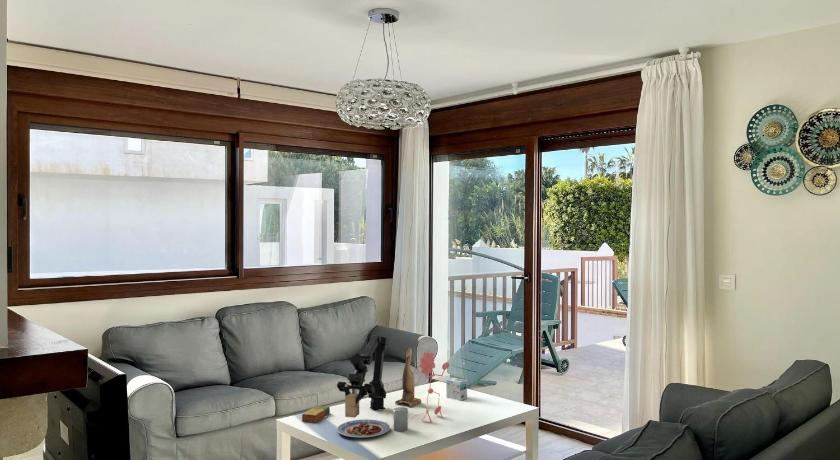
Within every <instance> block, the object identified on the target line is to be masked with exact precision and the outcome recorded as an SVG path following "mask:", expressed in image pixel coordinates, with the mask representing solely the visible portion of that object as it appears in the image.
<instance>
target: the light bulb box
mask: <svg viewBox="0 0 840 460" xmlns="http://www.w3.org/2000/svg"><path fill="white" fill-rule="evenodd" d="M445 383H446V385H445V386H446V395H445V396H446V398H447V399H451V400H456V401H460V402H461V401H463V400H467V399H468V380H467V379H461V378H457V377H450V378H447V379H446V381H445Z"/></svg>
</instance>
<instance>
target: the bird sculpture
mask: <svg viewBox="0 0 840 460" xmlns="http://www.w3.org/2000/svg"><path fill="white" fill-rule="evenodd" d="M412 354H413V350H412V348H411V347H408V348H407V351H406V352H405V357H404V358H405V359H406V360H405V364H404V367H403V373H402V383H401V384H402V385H401V386H402V396H401V398H399V399H397V400H395V402H394V403H395V404H396V405H397V404H399V403H405V404H408V405H409V406H410V408H413V407H415V406H418V405H420V404H422V400H421V398H417V397H415V374H414V373H413V372H414V371H412V369H411V364H412V363H411V362H412ZM412 373H413V374H412ZM411 374H412V375H411Z"/></svg>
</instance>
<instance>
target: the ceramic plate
mask: <svg viewBox="0 0 840 460" xmlns="http://www.w3.org/2000/svg"><path fill="white" fill-rule="evenodd" d="M390 429H391V426H390V424H388V423H387V422H385V421H382V420H378V419H366V418H365V419H363V418H362V419H355V420H350V421H345V422H344V423H341V424H339V425H338V426H337V428H336V431H337V433H339V434H340V435H342V436H345V437H351V438H359V439H360V438H361V439H362V438H371V437H372V438H373V437H376V436H381V435H383V434H385V433H387V432H388V431H390Z"/></svg>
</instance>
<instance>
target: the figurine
mask: <svg viewBox="0 0 840 460" xmlns="http://www.w3.org/2000/svg"><path fill="white" fill-rule="evenodd" d="M419 361H420V364H419V365H418V366H417V367H416V368H415V369H414V370H413V371H412V372H413V373H412V374H414V373H415V372H416V371H417V370H418V369H419V368H421V369H420V373H421V374H424V376H425V378H426V379H429V387H428V389H427V397H426V405H428V401H429V394H430V395H431V394H433V393H435V394H437V395H438V396H440V395H441V394H440V393H439V392H436V391H434V389H433V388H431V386H432V385H431V383H432V379H433V378H434V377H435V376H436V377H437V376H438V377H443V376H444V372H445V370H448V369H449V367H450V363H449V362H448V361H446V362H444V363H443V364H442V366H441V368H442V370H443V371H442V373H441V374H436V373H434V370H433V369H436V364H435V358H434V352H430V351H429V350H428V351H426V352H423V354H422V357H420V358H419ZM412 374H411V375H412ZM429 374H430V375H429ZM428 375H429V376H428ZM437 401H438V402H437V407H436V408H435V410H434V415H435V416H438V414H440V416H441V419H444V417H443V416H444V415H442V411H441V409H442V407H441V406H440V399H438V400H437ZM429 411H430V410H428V409H427V410H426V411H425V412H423V413H422V414H425V415H424V416H423V418H422V419H421V421H423V420H424V419H425V418H426V416H427V415H428V416H427V417H428V419H429V421H430V423H433V421H432V420H431V416H430V414H429ZM418 415H420V414H417V416H418ZM414 417H416V414H415V415H413V416H412V418H414Z"/></svg>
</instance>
